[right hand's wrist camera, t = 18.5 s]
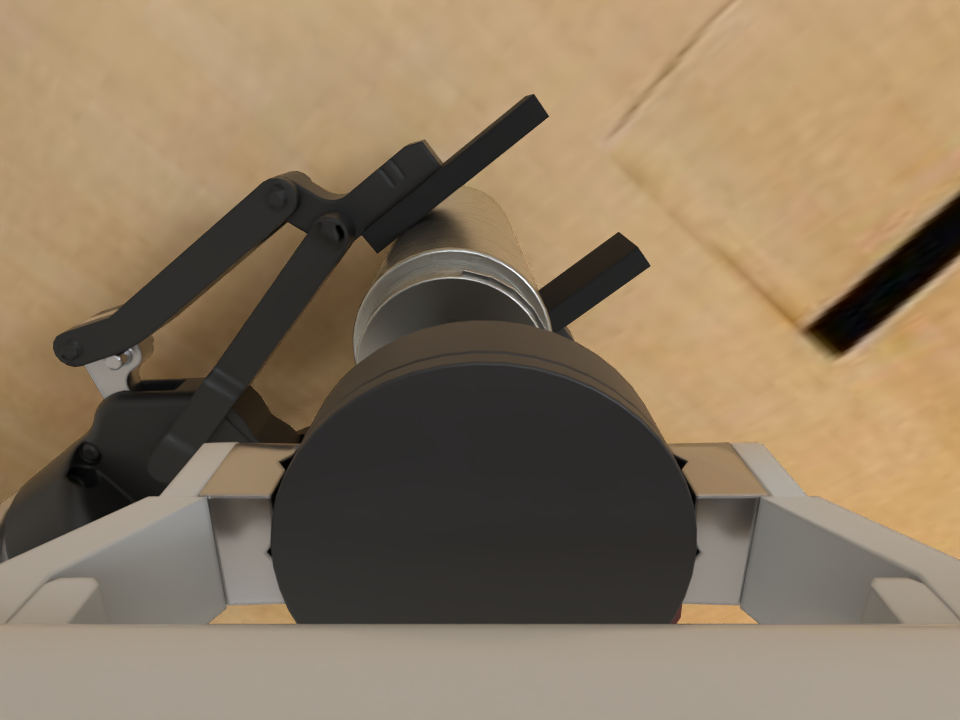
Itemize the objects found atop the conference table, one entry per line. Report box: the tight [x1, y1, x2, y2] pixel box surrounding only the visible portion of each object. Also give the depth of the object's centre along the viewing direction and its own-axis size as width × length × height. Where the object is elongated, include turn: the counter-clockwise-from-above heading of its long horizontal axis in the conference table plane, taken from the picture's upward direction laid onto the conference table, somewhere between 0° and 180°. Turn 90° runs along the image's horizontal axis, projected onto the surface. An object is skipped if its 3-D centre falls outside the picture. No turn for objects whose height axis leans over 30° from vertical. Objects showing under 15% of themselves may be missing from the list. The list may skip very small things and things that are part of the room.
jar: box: [353, 186, 552, 365], centre depth 21 cm, size 5×5×15 cm
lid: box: [270, 320, 697, 624], centre depth 9 cm, size 6×6×2 cm
